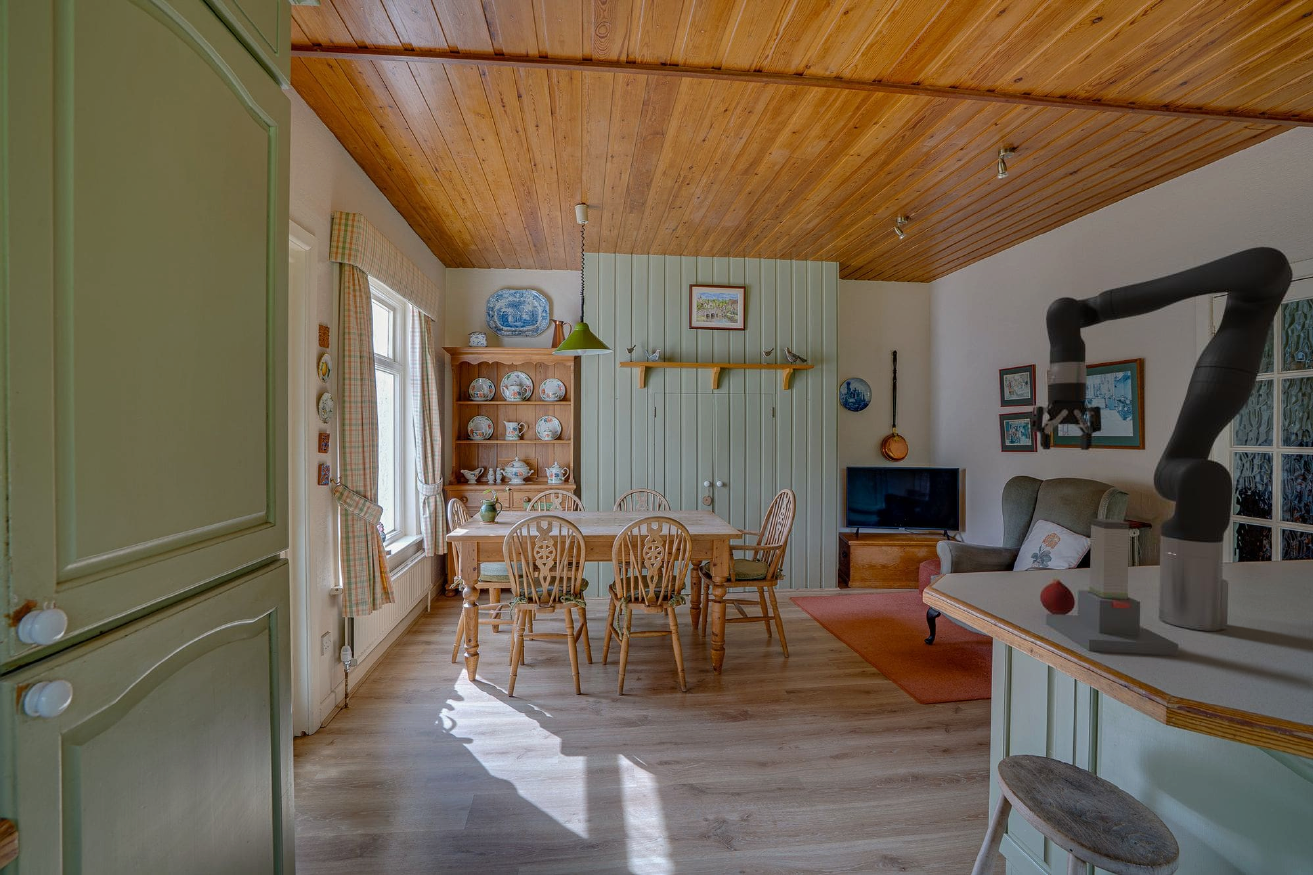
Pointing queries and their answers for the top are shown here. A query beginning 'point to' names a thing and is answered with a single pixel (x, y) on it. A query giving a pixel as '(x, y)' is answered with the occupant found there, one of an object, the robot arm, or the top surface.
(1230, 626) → the top surface
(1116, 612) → the stand
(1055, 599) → the onion
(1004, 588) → the top surface
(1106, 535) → the column
